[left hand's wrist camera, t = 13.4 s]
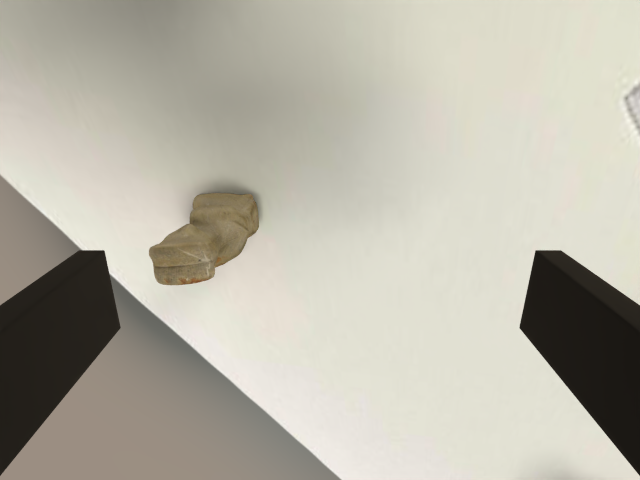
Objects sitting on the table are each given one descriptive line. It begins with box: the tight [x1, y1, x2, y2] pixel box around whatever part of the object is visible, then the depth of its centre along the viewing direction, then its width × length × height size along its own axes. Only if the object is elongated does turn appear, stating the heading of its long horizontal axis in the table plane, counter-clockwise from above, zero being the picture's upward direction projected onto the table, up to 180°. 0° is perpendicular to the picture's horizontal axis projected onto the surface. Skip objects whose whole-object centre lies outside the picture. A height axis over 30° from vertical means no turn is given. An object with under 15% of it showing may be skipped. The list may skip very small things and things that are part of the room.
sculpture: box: [149, 193, 259, 285], centre depth 38 cm, size 6×7×15 cm
